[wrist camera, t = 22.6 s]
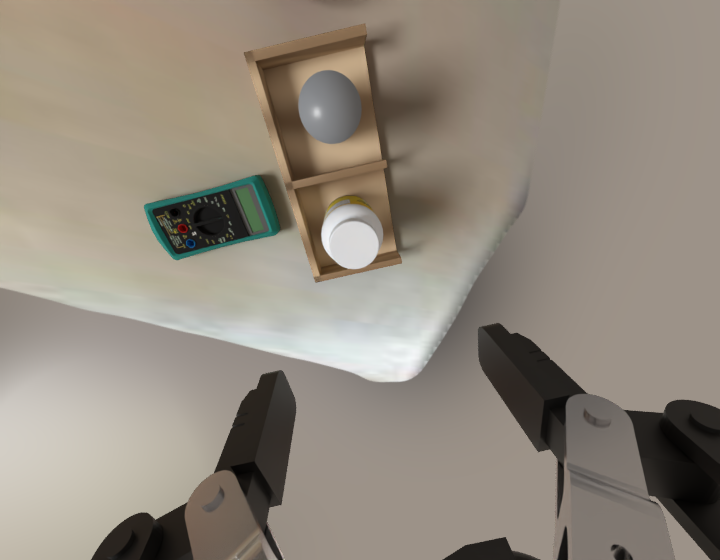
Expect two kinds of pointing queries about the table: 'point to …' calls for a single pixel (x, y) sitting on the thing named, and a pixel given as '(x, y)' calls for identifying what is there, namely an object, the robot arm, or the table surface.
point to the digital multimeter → (213, 218)
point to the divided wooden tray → (317, 159)
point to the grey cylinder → (330, 107)
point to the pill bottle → (351, 232)
